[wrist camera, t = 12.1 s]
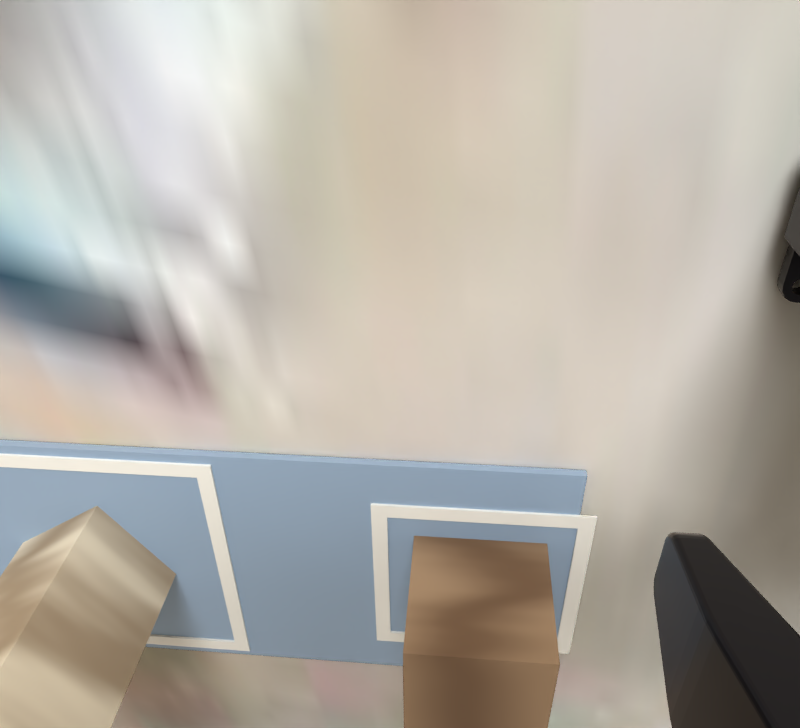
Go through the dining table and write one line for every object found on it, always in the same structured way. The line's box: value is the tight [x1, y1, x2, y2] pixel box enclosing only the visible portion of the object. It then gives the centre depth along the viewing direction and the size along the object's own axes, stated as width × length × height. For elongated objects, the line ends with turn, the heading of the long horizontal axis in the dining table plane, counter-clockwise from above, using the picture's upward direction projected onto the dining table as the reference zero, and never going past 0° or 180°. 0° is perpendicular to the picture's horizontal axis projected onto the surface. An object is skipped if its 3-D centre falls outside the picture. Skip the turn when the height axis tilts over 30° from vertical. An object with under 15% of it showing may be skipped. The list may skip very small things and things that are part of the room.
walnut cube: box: [403, 536, 560, 728], centre depth 27 cm, size 5×5×5 cm
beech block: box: [0, 506, 176, 728], centre depth 25 cm, size 4×4×12 cm
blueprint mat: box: [0, 440, 597, 666], centre depth 29 cm, size 26×12×1 cm, turn 90°
